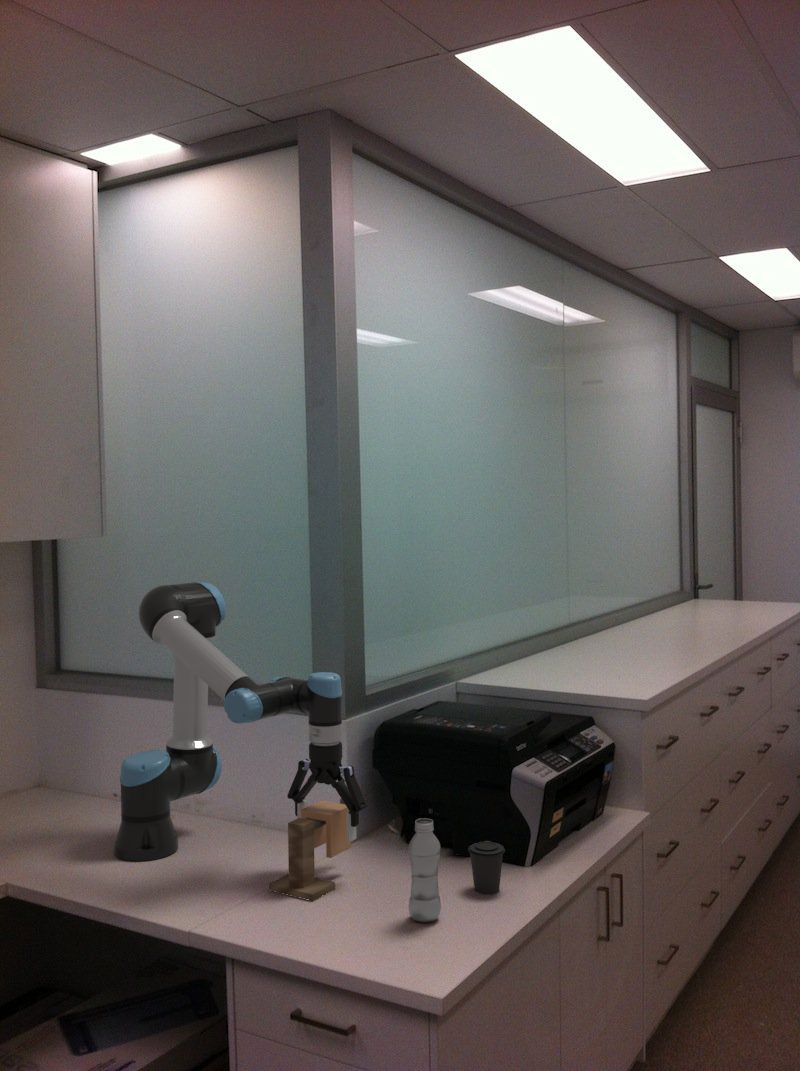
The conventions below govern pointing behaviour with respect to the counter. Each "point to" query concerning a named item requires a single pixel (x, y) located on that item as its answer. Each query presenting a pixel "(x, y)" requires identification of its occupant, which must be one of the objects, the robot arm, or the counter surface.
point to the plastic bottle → (424, 873)
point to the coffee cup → (486, 866)
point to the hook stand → (302, 863)
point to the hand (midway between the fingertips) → (326, 835)
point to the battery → (460, 845)
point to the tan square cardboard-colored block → (329, 826)
